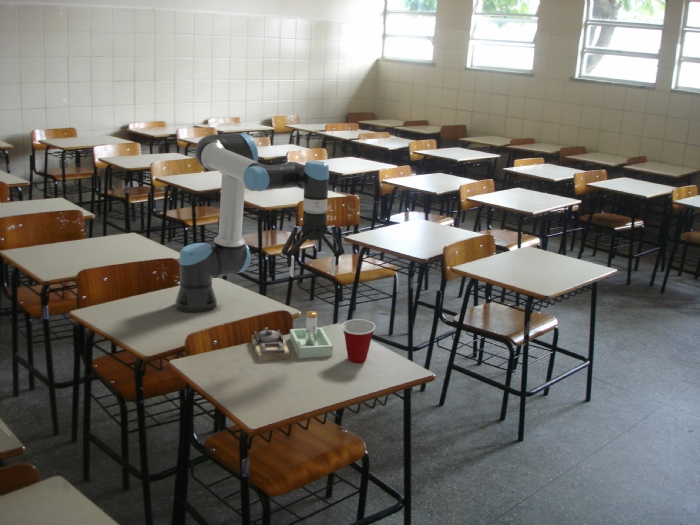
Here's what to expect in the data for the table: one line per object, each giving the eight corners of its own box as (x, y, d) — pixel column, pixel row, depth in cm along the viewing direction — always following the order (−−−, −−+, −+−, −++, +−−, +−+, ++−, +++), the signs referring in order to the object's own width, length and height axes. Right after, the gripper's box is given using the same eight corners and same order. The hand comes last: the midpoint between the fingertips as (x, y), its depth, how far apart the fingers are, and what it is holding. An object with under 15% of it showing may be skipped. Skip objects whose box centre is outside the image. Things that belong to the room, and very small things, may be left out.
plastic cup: (332, 360, 226) (334, 325, 223) (352, 350, 235) (354, 316, 231) (360, 370, 220) (363, 334, 217) (379, 359, 229) (382, 324, 225)
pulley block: (251, 340, 237) (251, 327, 236) (281, 339, 240) (281, 325, 239) (258, 360, 223) (258, 346, 221) (289, 358, 225) (290, 344, 224)
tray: (289, 338, 241) (290, 329, 240) (321, 337, 244) (321, 327, 243) (299, 358, 226) (299, 348, 225) (332, 356, 229) (332, 346, 228)
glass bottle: (304, 342, 236) (305, 311, 233) (314, 342, 237) (316, 310, 234) (306, 346, 233) (307, 315, 229) (317, 346, 234) (318, 314, 230)
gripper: (277, 213, 216) (275, 279, 222) (356, 213, 222) (352, 277, 229) (273, 208, 223) (272, 272, 229) (350, 208, 229) (346, 270, 235)
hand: (312, 275), depth 229 cm, fingers open, 13 cm apart
